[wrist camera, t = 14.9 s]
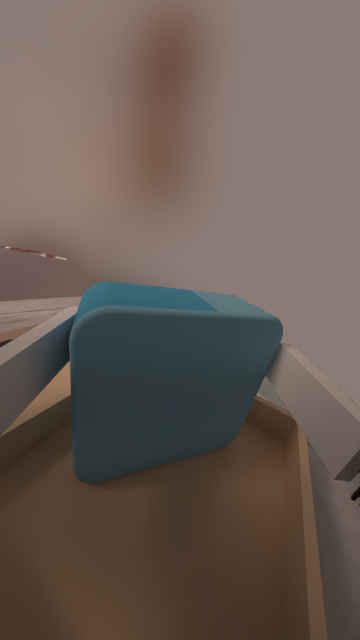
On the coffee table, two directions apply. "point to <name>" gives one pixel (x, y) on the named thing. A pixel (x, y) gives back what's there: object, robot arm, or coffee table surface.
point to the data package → (161, 375)
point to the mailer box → (158, 536)
